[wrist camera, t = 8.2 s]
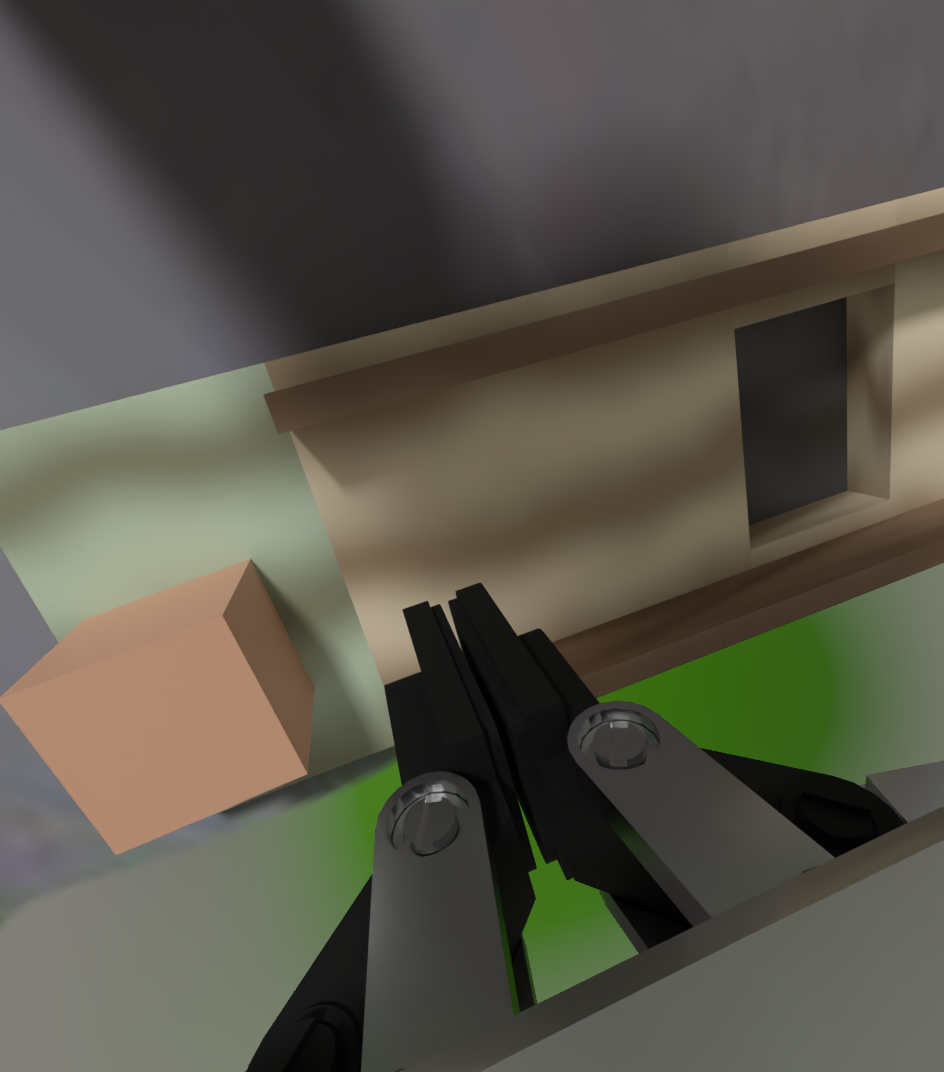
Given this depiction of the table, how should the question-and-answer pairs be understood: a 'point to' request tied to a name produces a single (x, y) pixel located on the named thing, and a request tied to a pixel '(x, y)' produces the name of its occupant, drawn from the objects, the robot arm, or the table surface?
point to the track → (533, 467)
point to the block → (170, 707)
